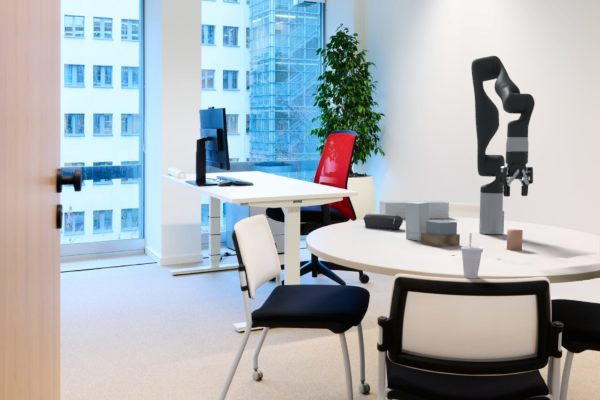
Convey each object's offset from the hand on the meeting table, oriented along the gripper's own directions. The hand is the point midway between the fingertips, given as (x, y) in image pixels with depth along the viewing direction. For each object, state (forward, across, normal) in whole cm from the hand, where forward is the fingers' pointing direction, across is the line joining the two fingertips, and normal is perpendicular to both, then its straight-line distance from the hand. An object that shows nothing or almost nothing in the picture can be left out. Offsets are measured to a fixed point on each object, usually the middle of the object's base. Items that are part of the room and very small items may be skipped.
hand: (515, 196), depth 227 cm
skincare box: (+19, +15, -36) cm, 43 cm away
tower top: (+15, +16, -21) cm, 30 cm away
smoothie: (+24, +39, +20) cm, 50 cm away
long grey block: (+19, -23, -88) cm, 93 cm away
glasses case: (+19, +12, -64) cm, 68 cm away
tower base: (+19, +16, -21) cm, 33 cm away
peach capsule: (+19, 0, 0) cm, 19 cm away
